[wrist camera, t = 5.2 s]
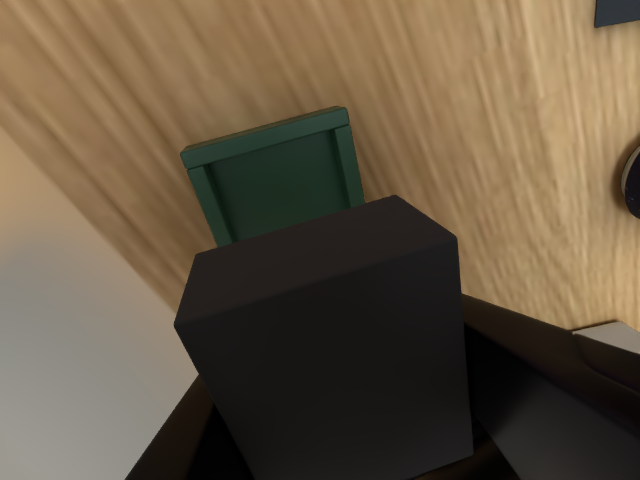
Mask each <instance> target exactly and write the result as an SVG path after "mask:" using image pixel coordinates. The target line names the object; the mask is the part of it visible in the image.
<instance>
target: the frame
mask: <svg viewBox="0 0 640 480" xmlns="http://www.w3.org/2000/svg"><path fill="white" fill-rule="evenodd" d="M348 124H349V117H348V112H347V108H345V107H340V106H333V107H330V108H326V109H322V110H319V111H315V112H311V113H308V114H304V115H300V116H297V117H293V118H289V119H286V120H282V121H278V122H275V123H271V124H267V125H264V126H260V127H256V128H253V129H249V130H245V131H242V132H238V133H234V134H231V135H227V136H223V137H220V138H216V139H213V140H209V141H205V142H202V143H198V144H194V145H191V146H187V147H186V148H185V149H184V150H183V151H182V152H181V153H180V156H181V158H182V161H183V163H184V166H185V168H186V169H188V170H187V173H188V176H189V178H190V180H191V183H192V185H193V188H194V190H195V193H196V195H197V198H198V200H199V202H200V205H201V207H202V210H203V212H204V215H205V217H206V219H207V222H208V224H209V227H210V229H211V232H212V234H213V237H214V239H215V241H216V244H217V246H218V247H221V246H225V245H228V244H231V243H235V242H238V241H241V240H245V239H248V238H252V237H255V236H258V235H262V234H265V233H268V232H272V231H275V230H278V229H282V228H285V227H288V226H292V225H295V224H298V223H302V222H305V221H309V220H312V219H315V218H319V217H322V216H325V215H329V214H332V213H335V212H339V211H342V210H345V209H349V208H352V207H356V206H359V205H362V204H365V200H364V195H363V189H362V184H361V179H360V174H359V169H358V163H357V158H356V153H355V148H354V143H353V137H352V132H351V127H350V125H348Z"/></svg>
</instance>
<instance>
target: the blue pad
mask: <svg viewBox="0 0 640 480" xmlns="http://www.w3.org/2000/svg"><path fill="white" fill-rule="evenodd" d="M636 20H640V0H597V8H596V19H595V28H597V27H603V26H608V25H614V24H620V23H625V22H631V21H636Z"/></svg>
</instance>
